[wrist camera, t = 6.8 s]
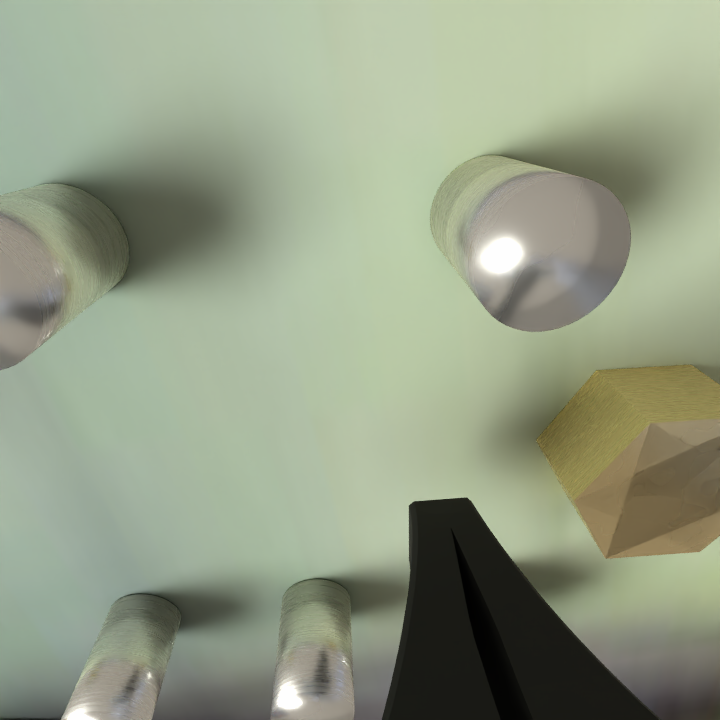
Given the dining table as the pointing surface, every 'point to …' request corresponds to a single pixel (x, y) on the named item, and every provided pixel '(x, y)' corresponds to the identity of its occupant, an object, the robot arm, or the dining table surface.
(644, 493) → the wooden star block
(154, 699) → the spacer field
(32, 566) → the dining table surface
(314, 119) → the dining table surface
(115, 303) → the dining table surface
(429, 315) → the dining table surface
